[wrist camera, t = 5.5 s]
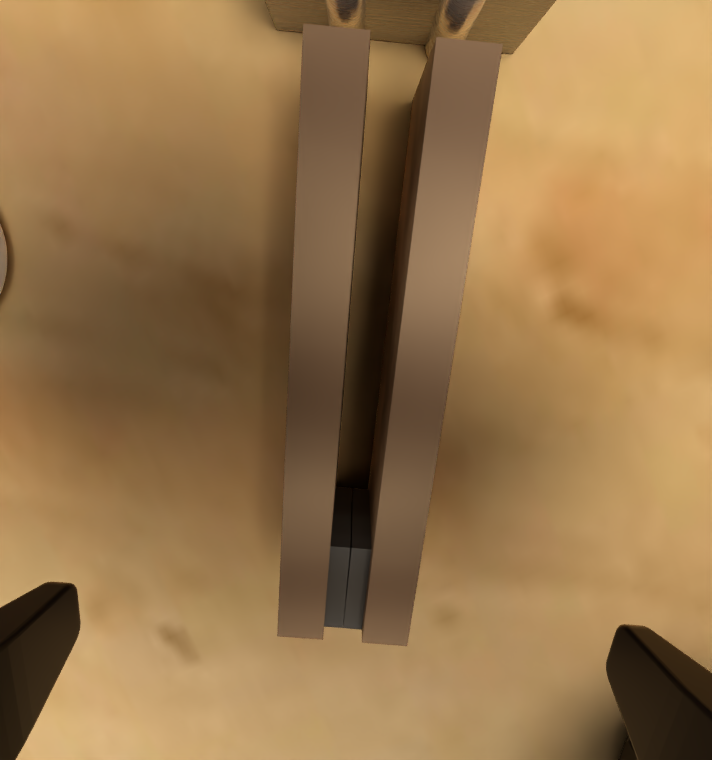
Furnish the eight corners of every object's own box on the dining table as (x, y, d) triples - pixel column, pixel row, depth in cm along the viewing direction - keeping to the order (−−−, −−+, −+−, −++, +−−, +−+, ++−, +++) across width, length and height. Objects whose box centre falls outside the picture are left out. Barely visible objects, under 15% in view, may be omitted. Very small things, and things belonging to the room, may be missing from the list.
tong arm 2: (320, 91, 14) (303, 23, 10) (386, 97, 14) (399, 32, 10) (296, 544, 18) (277, 636, 14) (346, 547, 18) (342, 640, 14)
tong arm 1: (392, 98, 14) (407, 34, 10) (458, 105, 14) (502, 44, 10) (346, 547, 18) (342, 640, 14) (395, 552, 19) (407, 646, 14)
